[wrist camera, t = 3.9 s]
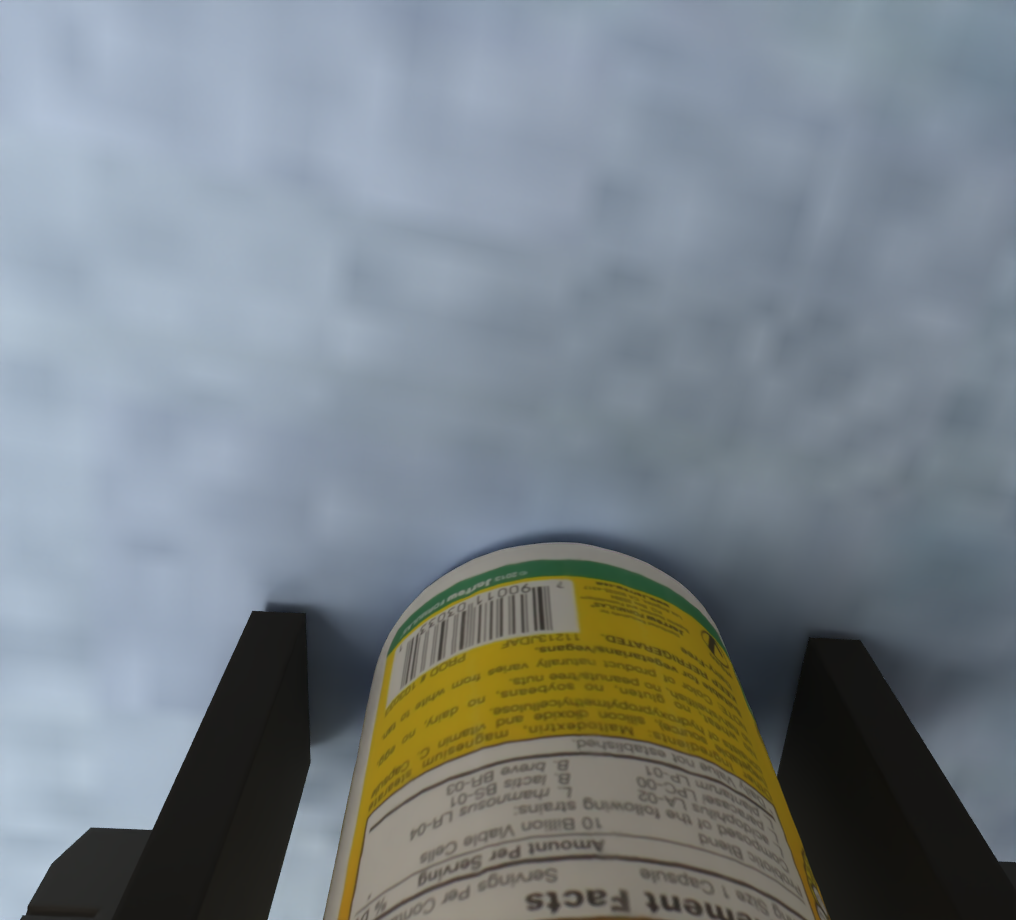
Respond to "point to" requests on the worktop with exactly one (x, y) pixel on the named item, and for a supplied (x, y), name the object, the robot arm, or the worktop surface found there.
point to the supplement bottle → (563, 757)
